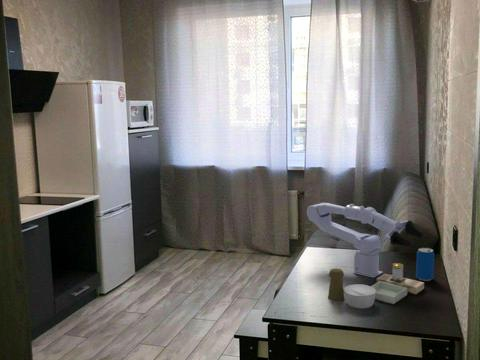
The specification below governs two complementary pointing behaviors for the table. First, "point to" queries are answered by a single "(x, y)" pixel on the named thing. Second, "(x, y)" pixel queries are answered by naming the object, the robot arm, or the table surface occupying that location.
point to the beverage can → (425, 264)
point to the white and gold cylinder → (397, 272)
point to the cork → (336, 285)
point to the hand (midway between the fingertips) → (416, 240)
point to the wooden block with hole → (403, 283)
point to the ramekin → (359, 296)
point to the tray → (389, 292)
